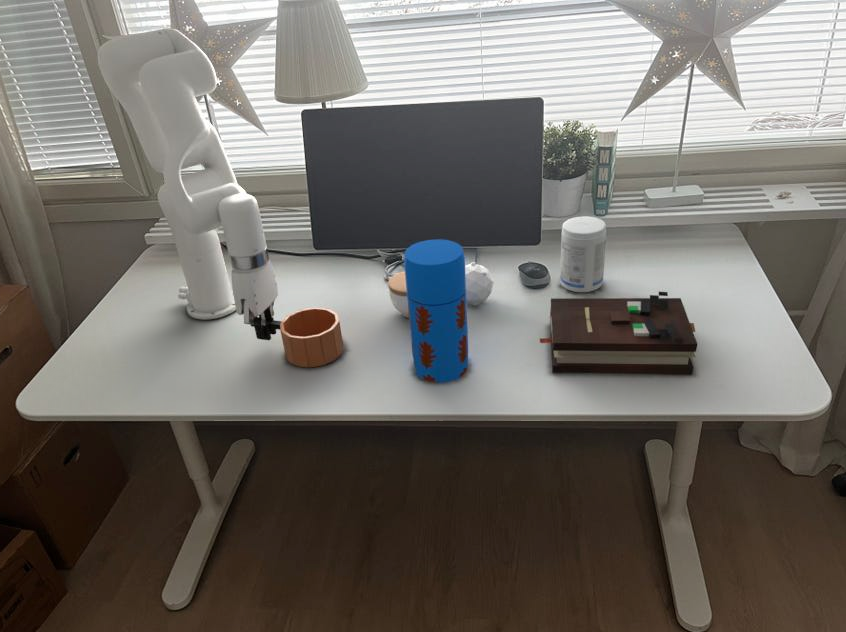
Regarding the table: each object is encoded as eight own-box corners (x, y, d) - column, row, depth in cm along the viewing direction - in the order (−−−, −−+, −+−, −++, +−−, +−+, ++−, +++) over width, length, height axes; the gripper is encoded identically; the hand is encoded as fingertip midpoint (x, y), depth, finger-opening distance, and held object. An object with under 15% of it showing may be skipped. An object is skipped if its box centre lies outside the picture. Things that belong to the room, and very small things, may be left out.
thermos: (452, 389, 134) (445, 269, 120) (403, 375, 139) (392, 259, 125) (478, 359, 141) (474, 244, 128) (431, 347, 147) (423, 235, 133)
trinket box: (434, 324, 154) (432, 285, 149) (386, 322, 156) (382, 285, 151) (442, 300, 163) (439, 262, 157) (396, 298, 165) (392, 262, 160)
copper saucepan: (243, 359, 149) (236, 330, 145) (270, 329, 158) (264, 302, 154) (329, 370, 142) (323, 340, 138) (352, 338, 151) (347, 310, 148)
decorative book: (539, 292, 146) (692, 291, 141) (538, 323, 151) (687, 323, 146) (540, 342, 131) (713, 343, 126) (539, 376, 135) (707, 378, 130)
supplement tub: (591, 271, 168) (595, 212, 160) (610, 289, 160) (615, 228, 152) (552, 278, 167) (555, 220, 158) (569, 297, 159) (572, 236, 151)
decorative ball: (504, 302, 164) (507, 267, 154) (470, 327, 161) (471, 293, 151) (477, 280, 168) (479, 245, 158) (444, 304, 165) (443, 270, 155)
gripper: (252, 239, 148) (268, 315, 158) (212, 274, 136) (232, 354, 146) (284, 242, 146) (298, 319, 156) (246, 277, 134) (264, 358, 144)
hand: (266, 335), depth 151 cm, fingers closed on copper saucepan, 1 cm apart
